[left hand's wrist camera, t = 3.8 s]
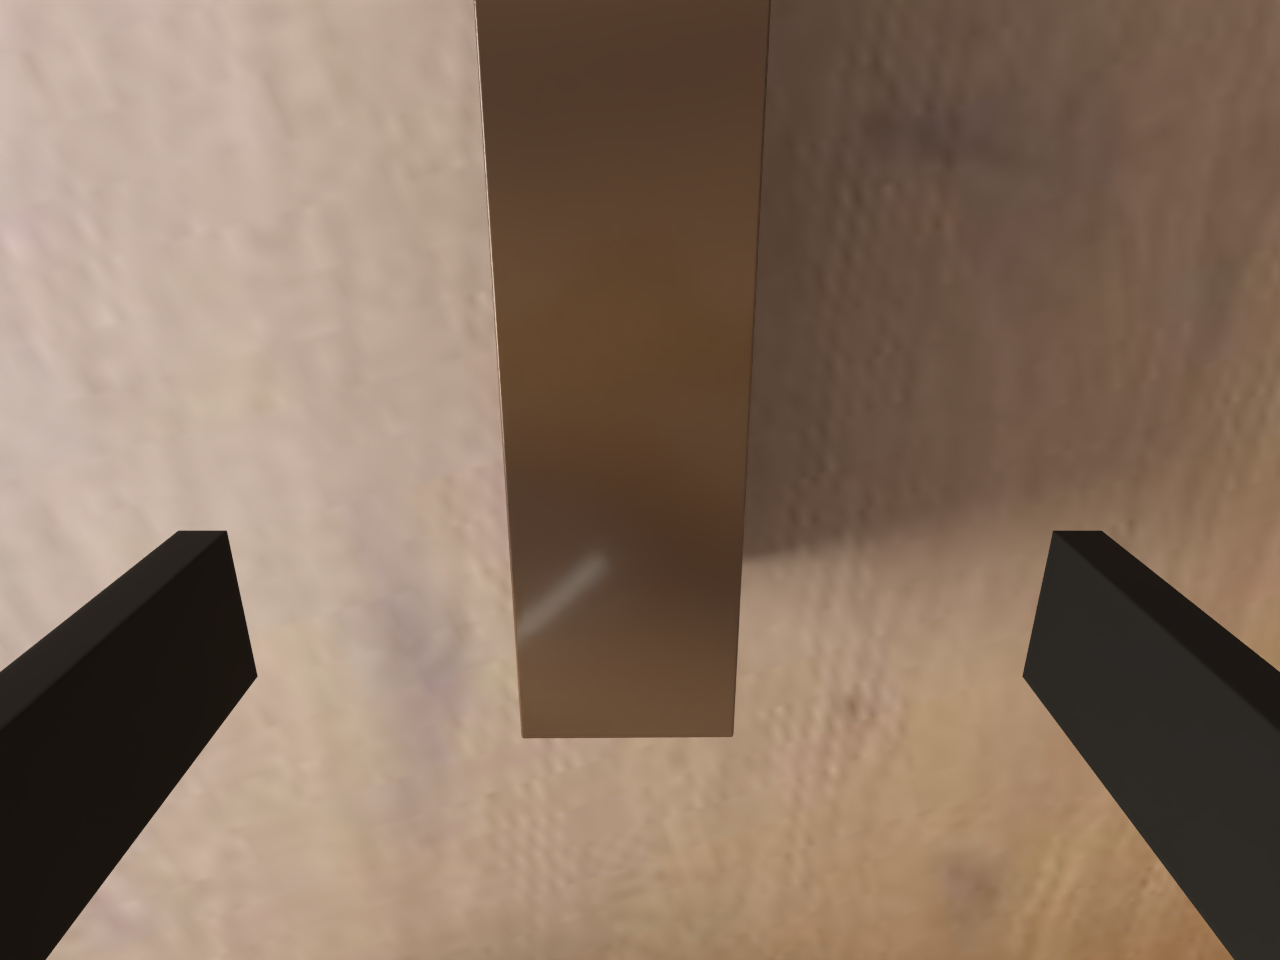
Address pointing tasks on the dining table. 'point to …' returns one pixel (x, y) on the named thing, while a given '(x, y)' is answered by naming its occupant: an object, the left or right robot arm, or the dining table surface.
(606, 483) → the bar
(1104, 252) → the dining table surface
